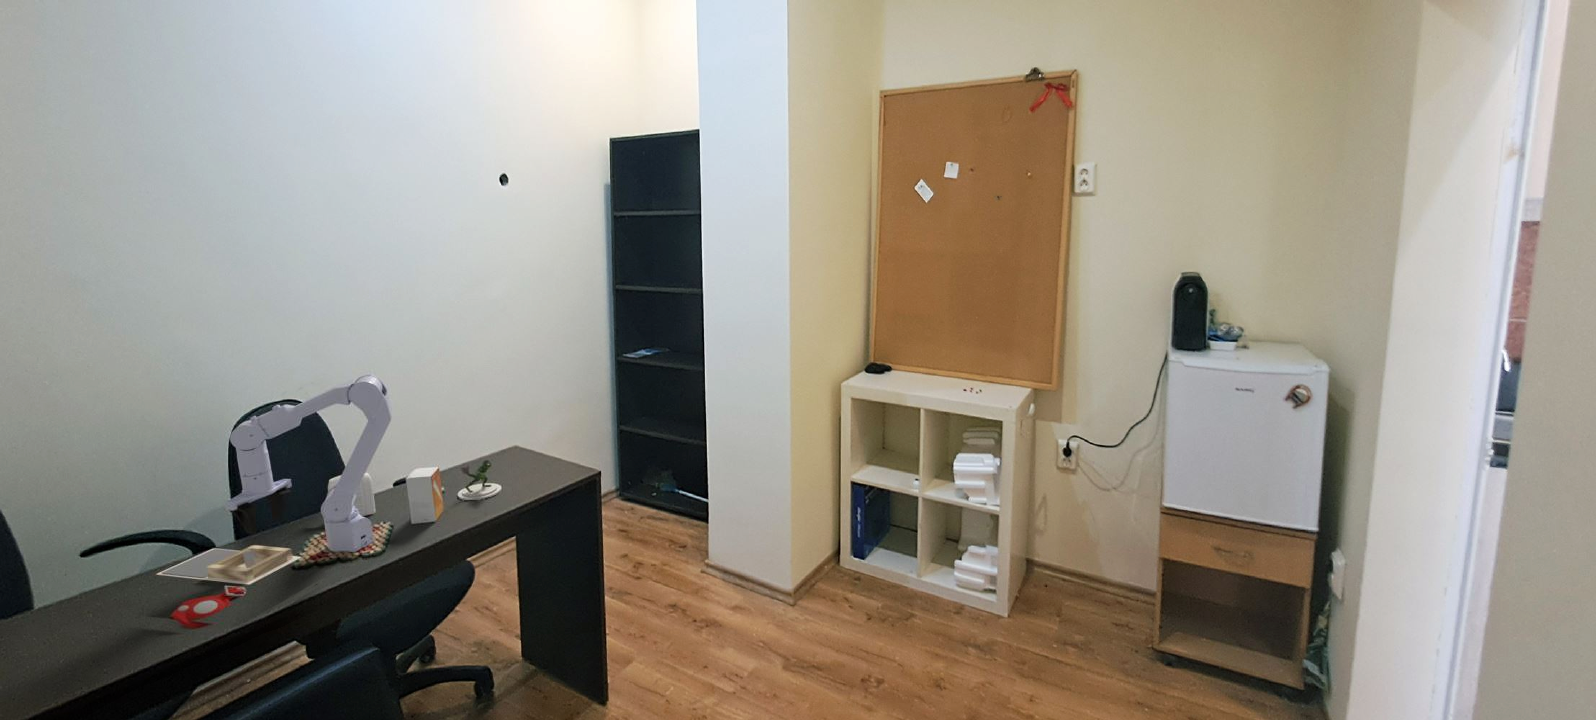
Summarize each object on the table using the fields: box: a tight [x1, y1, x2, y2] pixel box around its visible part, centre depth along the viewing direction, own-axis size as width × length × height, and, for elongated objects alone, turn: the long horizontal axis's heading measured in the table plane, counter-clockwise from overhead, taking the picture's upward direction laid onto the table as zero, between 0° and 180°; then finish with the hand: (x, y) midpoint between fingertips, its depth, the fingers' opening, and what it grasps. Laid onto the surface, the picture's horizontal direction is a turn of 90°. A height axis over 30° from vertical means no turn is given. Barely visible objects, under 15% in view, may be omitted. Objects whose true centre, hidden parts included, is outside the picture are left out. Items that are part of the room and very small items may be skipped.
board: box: [155, 548, 302, 585], centre depth 160 cm, size 26×13×6 cm, turn 78°
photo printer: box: [327, 472, 376, 517], centre depth 190 cm, size 10×4×12 cm, turn 123°
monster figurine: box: [457, 459, 503, 501], centre depth 205 cm, size 12×12×10 cm
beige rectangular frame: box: [206, 544, 294, 582], centre depth 159 cm, size 11×11×2 cm
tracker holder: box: [170, 585, 247, 629], centre depth 143 cm, size 12×4×10 cm
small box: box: [405, 466, 445, 525], centre depth 188 cm, size 8×6×13 cm
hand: (265, 526), depth 162 cm, fingers open, 6 cm apart
